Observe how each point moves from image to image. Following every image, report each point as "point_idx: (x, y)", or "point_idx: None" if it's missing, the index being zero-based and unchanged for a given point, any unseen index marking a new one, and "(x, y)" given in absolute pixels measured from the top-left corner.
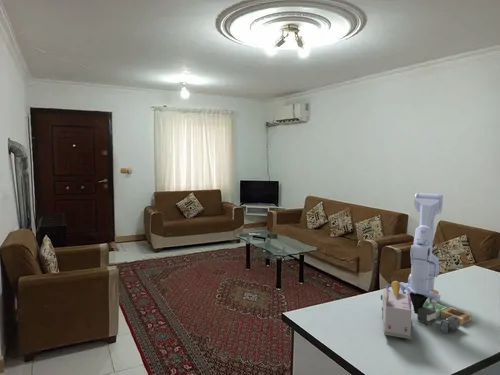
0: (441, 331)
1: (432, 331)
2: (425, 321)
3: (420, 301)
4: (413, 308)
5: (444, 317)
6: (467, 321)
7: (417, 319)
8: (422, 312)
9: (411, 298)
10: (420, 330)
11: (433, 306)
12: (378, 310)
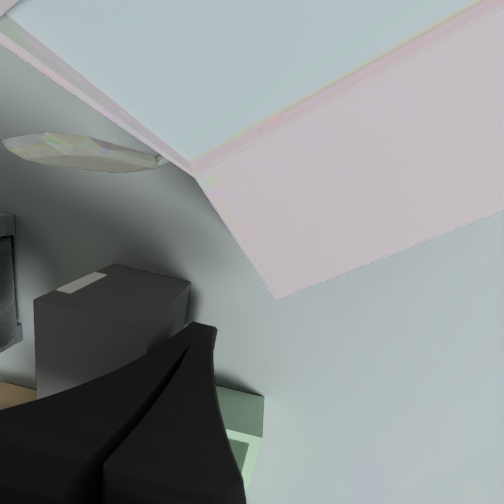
0: (7, 213)
1: (46, 174)
2: (125, 272)
3: (32, 403)
4: (263, 411)
5: None
6: None
7: (189, 283)
8: (111, 307)
9: (194, 435)
10: (101, 119)
11: None
12: (496, 225)
